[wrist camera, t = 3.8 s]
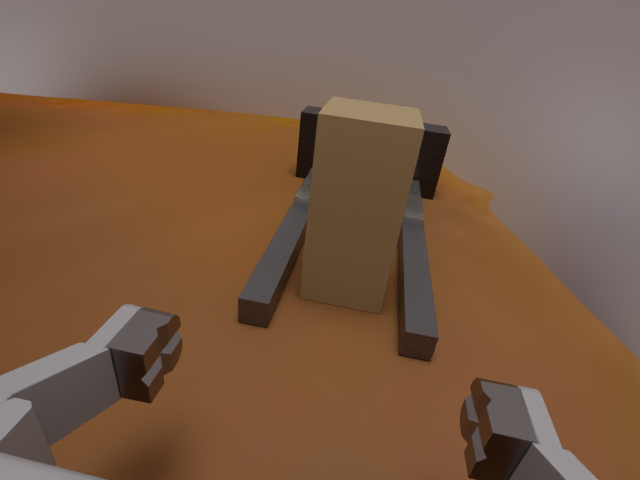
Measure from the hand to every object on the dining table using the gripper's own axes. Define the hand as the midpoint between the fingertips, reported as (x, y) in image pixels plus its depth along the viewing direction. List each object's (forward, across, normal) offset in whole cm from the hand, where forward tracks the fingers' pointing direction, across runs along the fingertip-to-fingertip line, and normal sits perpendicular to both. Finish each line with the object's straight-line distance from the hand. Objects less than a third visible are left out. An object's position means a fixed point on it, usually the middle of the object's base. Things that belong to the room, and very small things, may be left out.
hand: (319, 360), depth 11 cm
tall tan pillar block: (+11, 0, +6) cm, 13 cm away
